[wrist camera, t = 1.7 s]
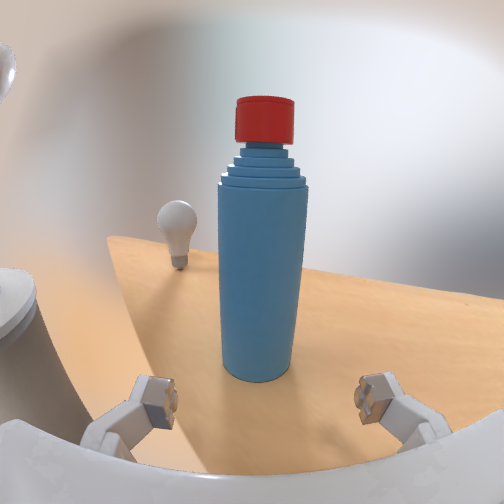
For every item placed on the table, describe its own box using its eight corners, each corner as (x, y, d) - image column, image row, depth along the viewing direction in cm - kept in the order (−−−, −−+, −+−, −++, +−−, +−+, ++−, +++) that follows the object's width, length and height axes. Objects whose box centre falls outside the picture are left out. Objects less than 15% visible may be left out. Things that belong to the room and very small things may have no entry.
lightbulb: (154, 273, 42) (148, 204, 38) (173, 259, 47) (169, 196, 43) (188, 279, 40) (184, 205, 36) (205, 263, 46) (203, 198, 42)
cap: (239, 141, 16) (240, 94, 15) (231, 143, 20) (232, 104, 19) (301, 144, 17) (302, 99, 16) (283, 144, 20) (284, 107, 19)
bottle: (226, 386, 21) (223, 97, 14) (219, 340, 27) (216, 112, 20) (298, 376, 23) (327, 106, 15) (279, 335, 28) (293, 116, 21)
